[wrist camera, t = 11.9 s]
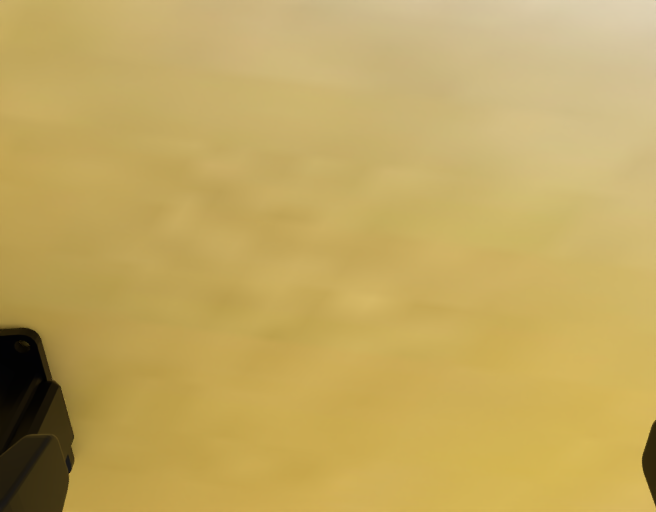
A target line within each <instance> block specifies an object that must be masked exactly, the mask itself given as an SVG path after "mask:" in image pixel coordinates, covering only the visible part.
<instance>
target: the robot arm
mask: <svg viewBox="0 0 656 512" xmlns="http://www.w3.org/2000/svg"><path fill="white" fill-rule="evenodd" d="M20 340H21V341H25V342H27V343H28V344H29V345H30V346H23V345H21V344H20V343H19V341H20ZM73 439H74V434H73V431H72V427H71V423H70V420H69V416H68V412H67V409H66V405H65V401H64V398H63V394H62V391H61V387H60V385H59V384H57V383H56V382H55V381H53V380H52V377H51V373H50V370H49V366H48V362H47V359H46V355H45V352H44V348H43V344H42V341H41V338H40V336H39V334H37V333H36V332H35V331H33V330H31V329H28V328H17V329H3V330H0V512H62V510H63V506H64V502H65V498H66V494H67V490H68V484H69V473H70V472H71V470H72V467H73V464H74V455H73V452H72V448H71V445H72V442H73ZM642 467H643V472H644V475H645V478H646V481H647V484H648V486H649V489H650V492H651V495H652V498H653V500H654V503H655V506H656V420H655V421H654V422H653V424H652V427H651V430H650V433H649V437H648V440H647V443H646V446H645V449H644V452H643V456H642Z"/></svg>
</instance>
